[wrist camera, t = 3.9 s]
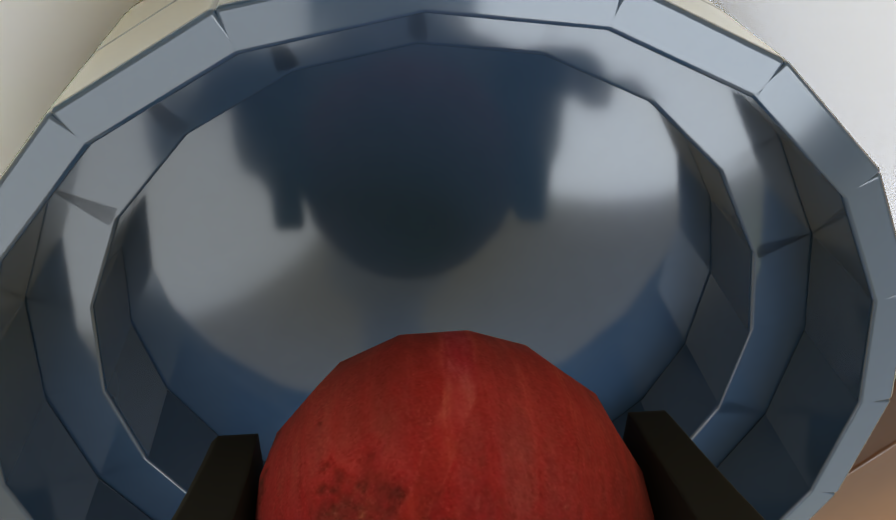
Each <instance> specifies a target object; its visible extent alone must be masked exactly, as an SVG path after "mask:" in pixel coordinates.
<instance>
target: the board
mask: <svg viewBox="0 0 896 520" xmlns="http://www.w3.org/2000/svg"><path fill="white" fill-rule="evenodd" d="M810 520H896V379H895V381H894V387H893V392H892V397H891V398H890V403H889V405H888V406H887V408H886V410H885V411H884V413H883V415H882V417H881V418H880V420H879V422H878V424H877V425H876V427H875V429H874V430H873V432H872V434H871V436H870V437H869V439H868V441H867V443H866V444H865V446H864V448H863V449H862V451H861V453H860V455H859V456H858V458H857V460H856V462H855V463H854V465H853V467H852V468H851V470H850V472H849V474H848V475H847V477H846V479H845V480H844V482H843V484H842V486H841V487H840V489H839V491H838V492H836V493H835V495H834V497H833V498H832V499H831V500H830V501H828V502H827V503H826V504H825V505H824V506H823V507H822V508H821V509H820V510H819V511H818V512H817V513H816V514H815V515H814V516H813V517H812V518H811V519H810Z"/></svg>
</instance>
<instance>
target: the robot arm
mask: <svg viewBox="0 0 896 520" xmlns="http://www.w3.org/2000/svg"><path fill="white" fill-rule="evenodd" d="M623 441H624V443H625V445H626V446H627V448H628V449H629V451H630V453H631V454H632V456H633V457H634V459H635V460H636V462H637V464H638V465H639V467H640V468H641V470H642V472H643V475H644V479H645V483H646V487H647V491H648V495H649V499H650V503H651V507H652V510H653V514H654V520H765V519H764V518H763V517H762V516H761V515H760V514H759V513H758V511H757V510H756V509H755V508H754V507H753V506H752V505H751V504H750V503H749V502H748V501H747V500H746V499H745V498H744V497H743V496H742V495H741V494H740V493H739V492H738V491H737V490H736V489H735V488H734V486H733V485H732V484H731V483H730V482H729V481H728V480H727V479H726V478H725V477H724V476H723V475H722V473H721V472H720V471H719V470H718V469H717V468H716V467H715V466H714V465H713V463H712V462H711V461H710V460H709V459H708V458H707V457H706V456H705V455H704V453H703V452H702V451H701V450H700V449H699V448H698V447H697V446H696V444H695V443H694V442H693V441H692V440H691V439H690V438H689V436H688V435H687V434H686V433H685V432H684V431H683V430H682V428H681V427H680V426H679V425H678V424H677V423H676V422H675V420H674V419H673V418H672V417H671V416H670V415H669V414H668V413H667V412H666V411H665V410H660V411H642V412H628V415H627V420H626V425H625V430H624V435H623ZM263 467H264V466H263V460H262V454H261V448H260V442H259V435H258V434H241V435H223V436H218V437H216V438H215V439H214V440H213V441H212V442H211V445H210V447H209V449H208V451H207V453H206V456H205V458H204V460H203V462H202V464H201V466H200V468H199V470H198V472H197V474H196V476H195V478H194V480H193V482H192V483H191V485H190V487H189V489H188V491H187V493H186V495H185V496H184V498H183V500H182V502H181V504H180V505H179V507H178V509H177V511H176V513H175V514H174V516H173V518H172V519H171V520H255V512H256V504H257V495H258V487H259V479H260V475H261V472H262V470H263Z"/></svg>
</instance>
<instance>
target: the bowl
mask: <svg viewBox="0 0 896 520" xmlns="http://www.w3.org/2000/svg"><path fill="white" fill-rule="evenodd" d="M463 330H469V331H473V332H476V333H480V334H484V335H488V336H492V337H496V338H500V339H504V340H508V341H512V342H515V343H519V344H523V345H526V346H528V347H529V348H530V349H532V350H533V351H535V352H536V353H537V354H539V355H540V356H542V357H543V358H544V359H546V360H547V361H549V362H550V363H551V364H553V365H554V366H556V367H557V368H558V369H560V370H561V371H563V372H564V373H566V374H567V375H569V376H570V377H572V378H573V379H575V380H576V381H577V382H579V383H580V384H582V385H583V386H585V387H586V388H588V389H589V390H591V391H592V392H594V393H595V394H596V395H597V397H598V399H599V401H600V402H601V404H602V406H603V407H604V409H605V411H606V413H607V414H608V416H609V418H610V420H611V421H612V423H613V425H614V427H615V428H616V430H617V432H618V434H619V435H620V437H621V438H622V440H623V435H624V430H625V425H626V420H627V415H628V412H642V411H660V410H665V411H666V412H667V413H668V414H669V415H670V416H671V417H672V418H673V419H674V420H675V422H676V423H677V424H678V425H679V426H680V427H681V428H682V430H683V431H684V432H685V433H686V434H687V435H688V436H689V438H690V439H691V440H692V441H693V442H694V443H695V444H696V446H697V447H698V448H699V449H700V450H701V451H702V452H703V453H704V455H705V456H706V457H707V458H708V459H709V460H710V461H711V462H712V463H713V465H714V466H715V467H716V468H717V469H718V470H719V471H720V472H721V473H722V475H723V476H724V477H725V478H726V479H727V480H728V481H729V482H730V483H731V484H732V485H733V486H734V488H735V489H736V490H737V491H738V492H739V493H740V494H741V495H742V496H743V497H744V498H745V499H746V500H747V501H748V502H749V503H750V504H751V505H752V506H753V507H754V508H755V509H756V510H757V511H758V513H759V514H760V515H761V516H762V517H763V518H764V519H765V520H810V519H811V518H812V517H813V516H814V515H815V514H816V513H817V512H818V511H819V510H820V509H821V508H822V507H823V506H824V505H825V504H826V503H827V502H828V501H830V500H831V499H832V498H833V497H834V495H835V493H836V492H838V491H839V489H840V487H841V486H842V484H843V482H844V480H845V479H846V477H847V475H848V474H849V472H850V470H851V468H852V467H853V465H854V463H855V462H856V460H857V458H858V456H859V455H860V453H861V451H862V449H863V448H864V446H865V444H866V443H867V441H868V439H869V437H870V436H871V434H872V432H873V430H874V429H875V427H876V425H877V424H878V422H879V420H880V418H881V417H882V415H883V413H884V411H885V410H886V408H887V406H888V405H889V403H890V398H891V397H892V392H893V387H894V381H895V376H896V231H895V227H894V223H893V219H892V215H891V211H890V207H889V203H888V200H887V196H886V192H885V188H884V184H883V180H882V176H881V173H880V171H879V168H878V166H877V165H876V164H875V163H874V162H873V161H872V159H871V158H870V157H869V156H868V155H867V153H866V152H865V151H864V150H863V149H862V148H861V146H860V145H859V144H858V143H857V142H856V140H855V139H854V138H853V137H852V136H851V135H850V133H849V132H848V131H847V130H846V129H845V127H844V126H843V125H842V124H841V123H840V122H839V120H838V119H837V118H836V117H835V116H834V114H833V113H832V112H831V111H830V110H829V109H828V107H827V106H826V105H825V104H824V103H823V101H822V100H821V99H820V98H819V97H818V96H817V94H816V93H815V92H814V91H813V90H812V88H811V87H810V86H809V85H808V84H807V83H806V81H805V80H804V79H803V78H802V77H801V75H800V74H799V73H798V72H797V71H796V70H795V68H794V67H793V66H792V65H791V64H790V62H788V61H787V60H786V59H785V58H783V57H782V56H781V55H779V54H778V53H777V52H776V51H774V50H773V49H772V48H770V47H769V46H768V45H767V44H765V43H764V42H763V41H761V40H760V39H759V38H758V37H756V36H755V35H754V34H752V33H751V32H750V31H749V30H747V29H746V28H745V27H743V26H742V25H741V24H740V23H738V22H737V21H736V20H734V19H733V18H732V17H731V16H729V15H728V14H726V13H725V12H724V11H722V10H721V9H720V8H718V7H717V6H716V5H715V4H713V3H712V2H711V1H709V0H143V1H141V2H140V3H138V4H137V5H135V6H134V7H132V8H130V10H129V11H128V12H127V13H125V14H124V16H123V17H122V18H121V19H120V21H119V22H118V23H117V24H116V26H115V27H114V28H113V29H112V31H111V32H110V33H109V34H108V36H107V37H106V38H105V39H104V41H103V42H102V43H101V44H100V46H99V47H98V48H97V49H96V51H95V52H94V53H93V54H92V56H91V57H90V58H89V60H88V61H87V62H86V63H85V65H84V66H83V67H82V68H81V70H80V71H79V72H78V73H77V75H76V76H75V77H74V78H73V80H72V81H71V82H70V83H69V85H68V86H67V87H66V88H65V90H64V91H63V92H62V93H61V95H60V96H59V97H58V98H57V100H56V101H55V102H54V103H53V105H52V106H51V107H50V108H49V110H48V111H47V112H46V114H45V115H44V116H43V118H42V119H41V121H40V122H39V123H38V125H37V126H36V128H35V129H34V130H33V132H32V133H31V135H30V136H29V137H28V139H27V140H26V142H25V143H24V145H23V146H22V147H21V149H20V150H19V152H18V153H17V154H16V156H15V157H14V159H13V160H12V162H11V163H10V164H9V166H8V167H7V169H6V170H5V171H4V173H3V174H2V176H1V177H0V520H171V519H172V518H173V516H174V514H175V513H176V511H177V509H178V507H179V505H180V504H181V502H182V500H183V498H184V496H185V495H186V493H187V491H188V489H189V487H190V485H191V483H192V482H193V480H194V478H195V476H196V474H197V472H198V470H199V468H200V466H201V464H202V462H203V460H204V458H205V456H206V453H207V451H208V449H209V447H210V445H211V442H212V441H213V440H214V439H215V438H216V437H218V436H223V435H241V434H258V435H259V442H260V448H261V454H262V460H263V466H264V465H265V462H266V459H267V457H268V454H269V452H270V449H271V447H272V444H273V442H274V439H275V436H276V434H277V432H278V431H279V430H280V429H281V427H282V426H283V425H284V424H285V423H286V422H287V421H288V419H289V418H290V417H291V416H292V415H293V414H294V412H295V411H296V410H297V409H298V408H299V407H300V406H301V404H302V403H303V402H304V401H305V400H306V399H307V397H308V396H309V395H310V394H311V393H312V392H313V391H314V389H315V388H316V387H317V386H318V385H319V384H320V383H321V382H322V381H323V380H324V379H325V377H326V376H327V375H328V374H329V373H330V372H331V371H332V370H333V369H334V368H335V367H336V366H337V365H338V364H339V363H340V362H342V361H344V360H346V359H348V358H350V357H352V356H355V355H357V354H359V353H361V352H363V351H365V350H368V349H370V348H372V347H374V346H376V345H379V344H381V343H383V342H385V341H387V340H389V339H392V338H394V337H396V336H398V335H404V334H418V333H433V332H448V331H463Z"/></svg>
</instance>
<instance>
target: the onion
mask: <svg viewBox="0 0 896 520" xmlns="http://www.w3.org/2000/svg"><path fill="white" fill-rule="evenodd" d="M255 520H654V514H653V510H652V507H651V503H650V499H649V495H648V491H647V487H646V483H645V479H644V475H643V472H642V470H641V468H640V467H639V465H638V464H637V462H636V460H635V459H634V457H633V456H632V454H631V453H630V451H629V449H628V448H627V446H626V445H625V443H624V441H623V440H622V438H621V437H620V435H619V434H618V432H617V430H616V428H615V427H614V425H613V423H612V421H611V420H610V418H609V416H608V414H607V413H606V411H605V409H604V407H603V406H602V404H601V402H600V401H599V399H598V397H597V395H596V394H595V393H594V392H592V391H591V390H589V389H588V388H586V387H585V386H583V385H582V384H580V383H579V382H577V381H576V380H575V379H573V378H572V377H570V376H569V375H567V374H566V373H564V372H563V371H561V370H560V369H558V368H557V367H556V366H554V365H553V364H551V363H550V362H549V361H547V360H546V359H544V358H543V357H542V356H540V355H539V354H537V353H536V352H535V351H533V350H532V349H530V348H529V347H528V346H526V345H523V344H519V343H515V342H512V341H508V340H504V339H500V338H496V337H492V336H488V335H484V334H480V333H476V332H473V331H469V330H463V331H448V332H433V333H418V334H404V335H398V336H396V337H394V338H392V339H389V340H387V341H385V342H383V343H381V344H379V345H376V346H374V347H372V348H370V349H368V350H365V351H363V352H361V353H359V354H357V355H355V356H352V357H350V358H348V359H346V360H344V361H342V362H340V363H339V364H338V365H337V366H336V367H335V368H334V369H333V370H332V371H331V372H330V373H329V374H328V375H327V376H326V377H325V379H324V380H323V381H322V382H321V383H320V384H319V385H318V386H317V387H316V388H315V389H314V391H313V392H312V393H311V394H310V395H309V396H308V397H307V399H306V400H305V401H304V402H303V403H302V404H301V406H300V407H299V408H298V409H297V410H296V411H295V412H294V414H293V415H292V416H291V417H290V418H289V419H288V421H287V422H286V423H285V424H284V425H283V426H282V427H281V429H280V430H279V431H278V432H277V434H276V436H275V439H274V442H273V444H272V447H271V449H270V452H269V454H268V457H267V459H266V462H265V465H264V467H263V470H262V472H261V475H260V479H259V487H258V495H257V504H256V512H255Z"/></svg>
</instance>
